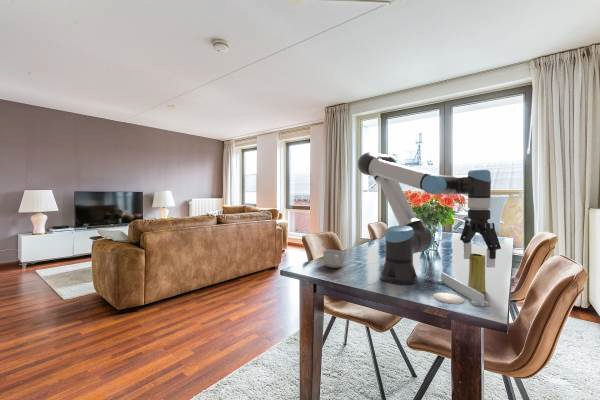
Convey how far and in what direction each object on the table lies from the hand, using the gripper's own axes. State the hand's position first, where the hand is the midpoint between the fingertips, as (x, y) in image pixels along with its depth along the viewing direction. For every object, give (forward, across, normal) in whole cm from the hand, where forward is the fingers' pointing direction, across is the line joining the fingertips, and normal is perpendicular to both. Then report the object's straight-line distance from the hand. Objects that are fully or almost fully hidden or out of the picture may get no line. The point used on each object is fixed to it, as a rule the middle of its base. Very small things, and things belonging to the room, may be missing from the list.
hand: (478, 262), depth 110 cm
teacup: (+10, +34, +52) cm, 64 cm away
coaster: (+11, -8, +16) cm, 21 cm away
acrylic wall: (+11, -2, +8) cm, 14 cm away
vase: (+11, 0, 0) cm, 11 cm away
